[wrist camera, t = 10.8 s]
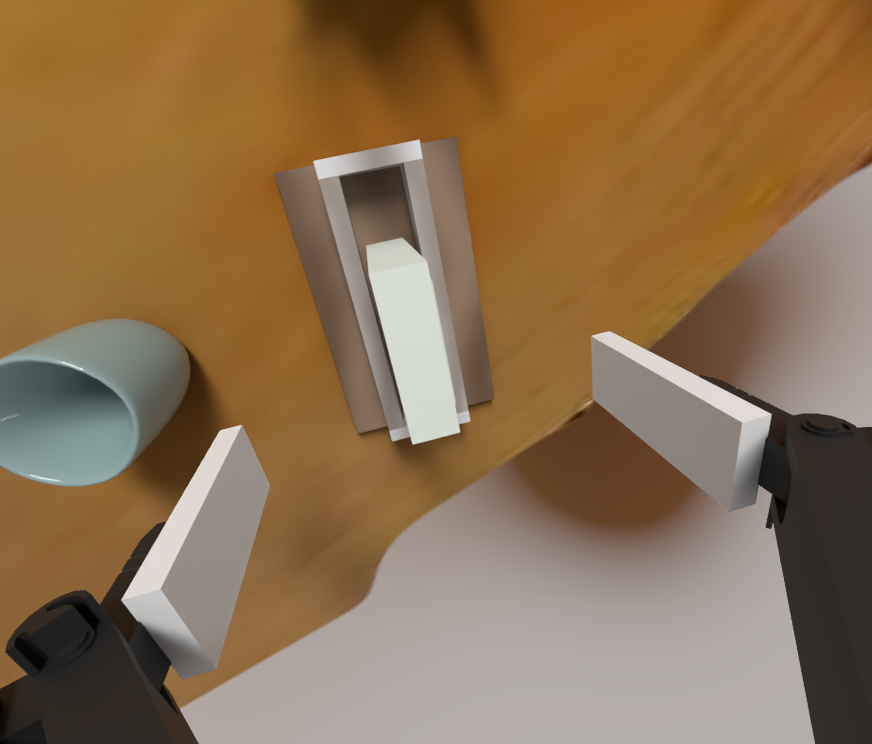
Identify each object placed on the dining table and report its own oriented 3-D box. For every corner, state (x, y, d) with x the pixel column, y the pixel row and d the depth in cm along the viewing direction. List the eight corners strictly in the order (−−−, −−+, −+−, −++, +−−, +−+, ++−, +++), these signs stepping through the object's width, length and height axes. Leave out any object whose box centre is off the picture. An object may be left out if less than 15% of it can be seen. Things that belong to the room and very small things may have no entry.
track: (357, 427, 35) (357, 450, 32) (276, 173, 27) (265, 170, 24) (491, 393, 36) (503, 412, 33) (452, 138, 28) (464, 130, 24)
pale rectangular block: (395, 361, 32) (412, 444, 21) (366, 245, 28) (368, 274, 18) (429, 353, 32) (463, 431, 22) (405, 236, 29) (431, 260, 18)
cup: (217, 330, 30) (155, 386, 21) (192, 417, 32) (125, 503, 23) (96, 288, 28) (-33, 332, 19) (78, 385, 30) (-46, 467, 21)
